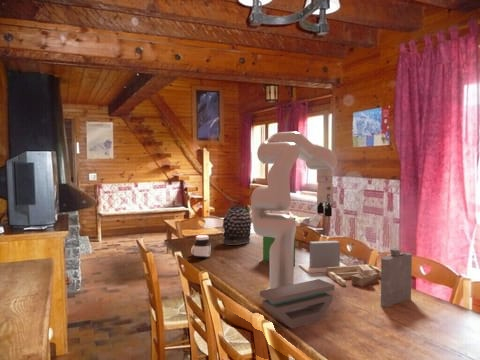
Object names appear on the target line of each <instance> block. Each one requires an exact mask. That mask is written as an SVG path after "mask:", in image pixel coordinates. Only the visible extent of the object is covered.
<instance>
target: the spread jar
mask: <svg viewBox="0 0 480 360" xmlns="http://www.w3.org/2000/svg"><path fill="white" fill-rule="evenodd" d="M211 246H212V245H211V241H210V240H209V235H207V234H200V235H199V234H198V235H196V236H195V241H194V243H193V245H192V247H191V249H190V253H191V254H192V255H193V256H194V257H195V259H199V260H206V259H209V258H210V256H211V253H212V252H211V251H212V250H211V249H212V248H211Z"/></svg>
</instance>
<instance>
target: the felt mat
mask: <svg viewBox="0 0 480 360" xmlns="http://www.w3.org/2000/svg"><path fill="white" fill-rule="evenodd" d="M340 266H347V264H345V263H342V262H341V261H340ZM298 267H299V268H301V269H302V271H304V272H306V273H307V274H310V273H311V274H313V273H314V274H315V273H327V267H325V268H311V267H310V263H298Z"/></svg>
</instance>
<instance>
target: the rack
mask: <svg viewBox="0 0 480 360" xmlns="http://www.w3.org/2000/svg"><path fill="white" fill-rule="evenodd" d="M358 265H359V264H357V265H346V266H338V267H327V272H326V275H327V276H328V277H329V278H330V279H332V280H334V281H335V282H336V283H338V284H339V285H340V286H342V287H345V286H347V280H349V279H350V280H352V275H355V274H359V272H358ZM367 265H368V266H369V267H370V268H371V269H372V270H373V272H376V273H378V279H380V280H381V268H379V267H377V266H375V265H373V264H367Z"/></svg>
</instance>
